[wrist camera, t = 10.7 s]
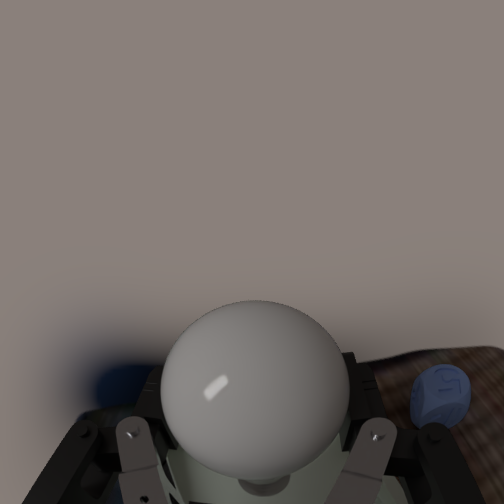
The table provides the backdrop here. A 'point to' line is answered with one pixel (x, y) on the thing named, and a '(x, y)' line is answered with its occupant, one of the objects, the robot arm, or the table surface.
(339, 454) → the parts tray
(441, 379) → the decorative dice
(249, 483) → the lightbulb
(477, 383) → the table surface
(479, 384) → the table surface
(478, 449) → the table surface
